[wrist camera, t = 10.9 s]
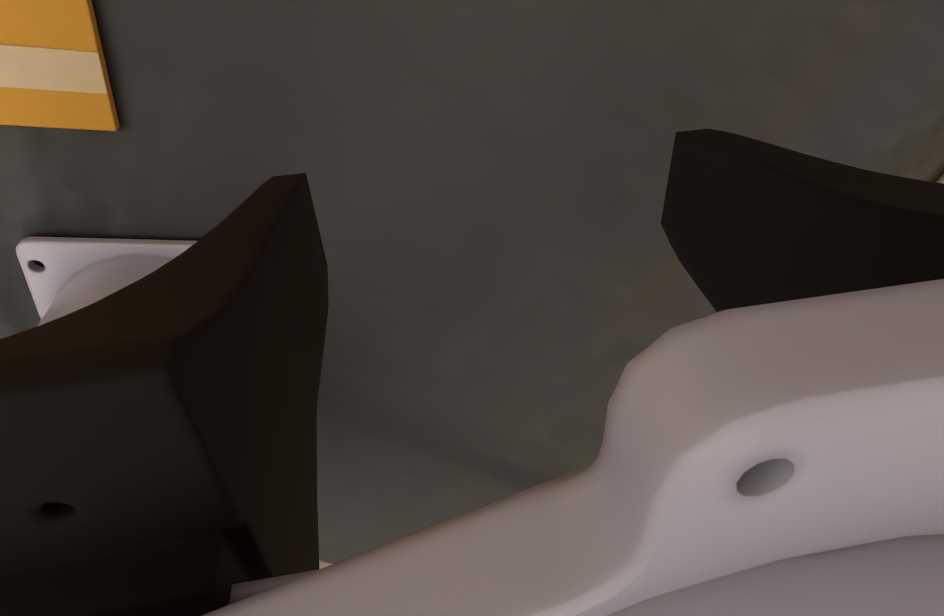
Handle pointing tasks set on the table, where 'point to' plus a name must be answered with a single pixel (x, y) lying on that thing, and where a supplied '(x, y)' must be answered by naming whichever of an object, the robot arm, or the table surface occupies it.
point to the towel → (53, 66)
